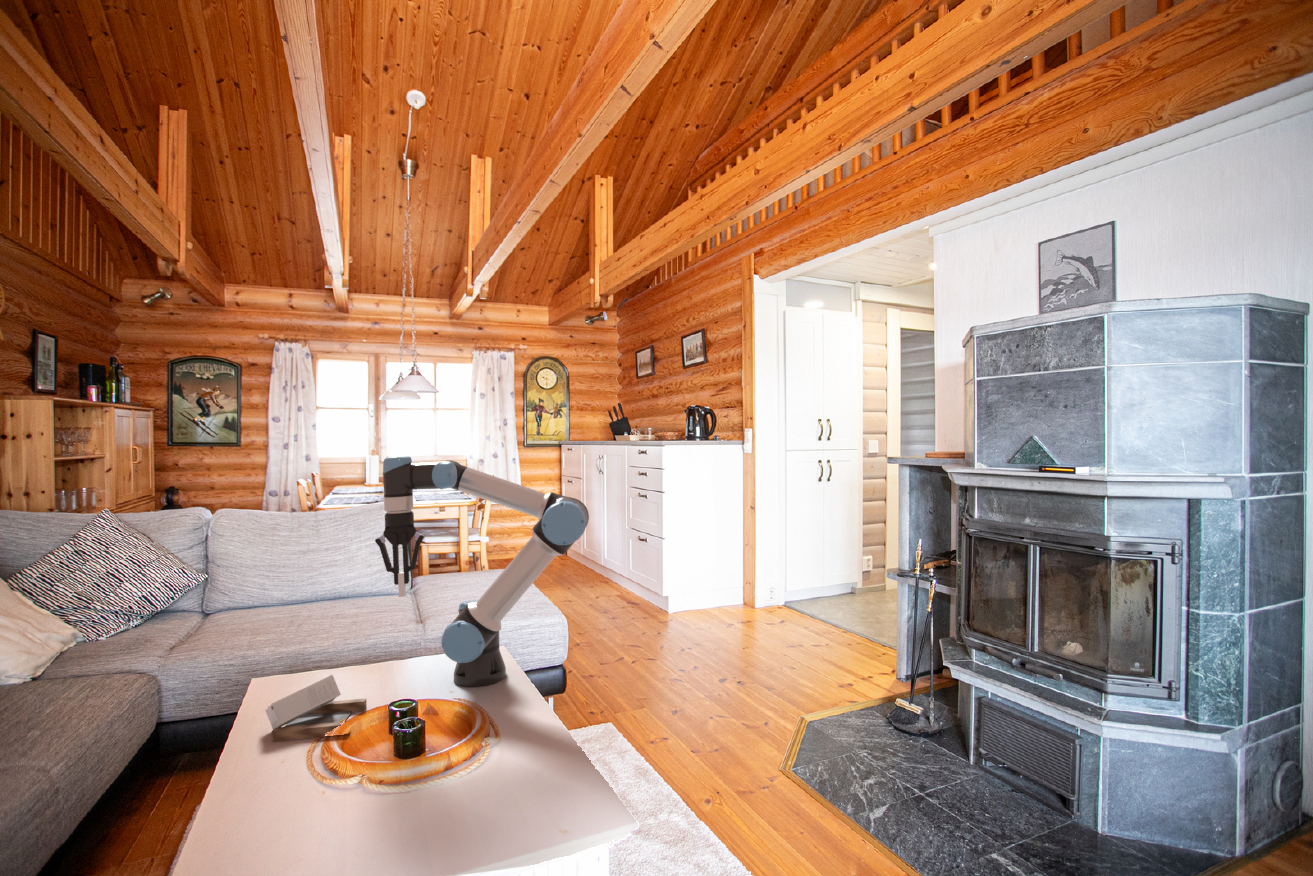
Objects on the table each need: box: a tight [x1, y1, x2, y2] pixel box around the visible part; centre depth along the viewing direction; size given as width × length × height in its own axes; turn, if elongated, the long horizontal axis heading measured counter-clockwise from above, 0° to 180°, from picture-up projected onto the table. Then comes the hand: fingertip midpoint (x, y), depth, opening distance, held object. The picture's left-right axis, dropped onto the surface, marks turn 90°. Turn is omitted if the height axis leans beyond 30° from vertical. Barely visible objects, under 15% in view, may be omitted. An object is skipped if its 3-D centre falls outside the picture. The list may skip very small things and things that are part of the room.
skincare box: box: [265, 674, 342, 731], centre depth 159 cm, size 8×6×15 cm
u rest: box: [271, 698, 367, 743], centre depth 159 cm, size 17×16×2 cm
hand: (402, 595), depth 175 cm, fingers closed
